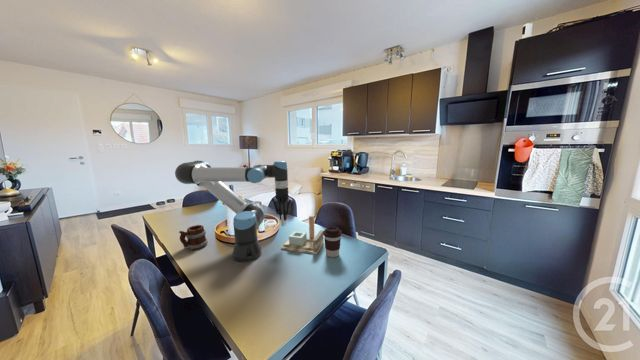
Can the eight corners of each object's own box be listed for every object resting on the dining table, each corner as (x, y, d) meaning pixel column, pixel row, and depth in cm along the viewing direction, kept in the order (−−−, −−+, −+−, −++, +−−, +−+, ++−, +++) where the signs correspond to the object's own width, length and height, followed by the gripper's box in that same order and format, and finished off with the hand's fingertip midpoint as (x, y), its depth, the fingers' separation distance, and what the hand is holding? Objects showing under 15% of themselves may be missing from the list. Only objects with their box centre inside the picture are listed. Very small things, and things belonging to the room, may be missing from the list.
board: (280, 249, 127) (280, 235, 126) (290, 238, 140) (290, 226, 139) (316, 254, 121) (316, 240, 119) (323, 243, 134) (323, 230, 133)
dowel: (308, 239, 139) (308, 217, 137) (310, 237, 142) (309, 215, 140) (313, 239, 138) (313, 217, 136) (315, 237, 141) (314, 215, 139)
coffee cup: (340, 259, 115) (340, 233, 112) (322, 258, 117) (321, 231, 114) (342, 250, 124) (342, 226, 122) (325, 249, 126) (325, 224, 124)
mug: (213, 243, 135) (207, 221, 130) (192, 257, 123) (184, 234, 119) (202, 239, 141) (195, 218, 136) (180, 252, 129) (172, 230, 124)
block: (289, 245, 129) (288, 236, 128) (294, 239, 136) (294, 231, 135) (301, 246, 126) (301, 238, 125) (306, 240, 134) (306, 232, 133)
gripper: (268, 188, 126) (271, 226, 131) (289, 189, 123) (290, 228, 127) (274, 185, 133) (276, 222, 138) (294, 186, 130) (296, 223, 134)
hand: (283, 225), depth 132 cm, fingers closed
